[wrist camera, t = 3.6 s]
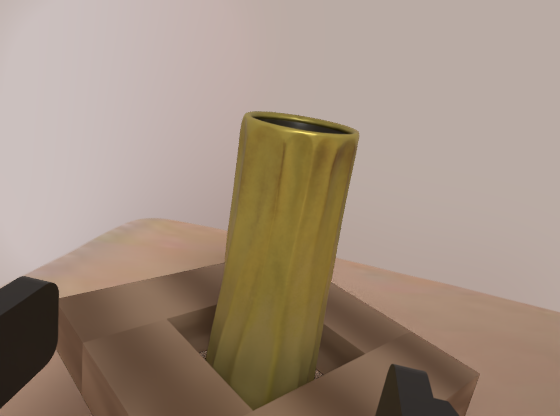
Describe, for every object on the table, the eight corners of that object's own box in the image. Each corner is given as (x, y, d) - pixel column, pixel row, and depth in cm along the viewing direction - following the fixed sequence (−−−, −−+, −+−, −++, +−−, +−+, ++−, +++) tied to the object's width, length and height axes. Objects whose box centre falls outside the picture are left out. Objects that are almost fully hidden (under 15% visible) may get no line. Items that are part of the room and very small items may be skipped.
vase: (225, 337, 28) (257, 106, 23) (321, 365, 27) (373, 128, 22) (181, 404, 22) (212, 115, 18) (300, 443, 21) (366, 145, 16)
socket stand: (274, 285, 35) (280, 250, 34) (463, 419, 24) (480, 373, 23) (55, 346, 24) (54, 299, 24) (214, 635, 14) (226, 568, 13)
